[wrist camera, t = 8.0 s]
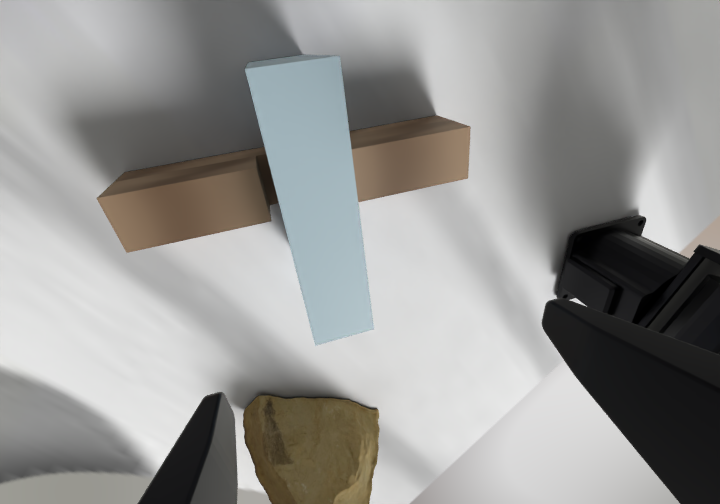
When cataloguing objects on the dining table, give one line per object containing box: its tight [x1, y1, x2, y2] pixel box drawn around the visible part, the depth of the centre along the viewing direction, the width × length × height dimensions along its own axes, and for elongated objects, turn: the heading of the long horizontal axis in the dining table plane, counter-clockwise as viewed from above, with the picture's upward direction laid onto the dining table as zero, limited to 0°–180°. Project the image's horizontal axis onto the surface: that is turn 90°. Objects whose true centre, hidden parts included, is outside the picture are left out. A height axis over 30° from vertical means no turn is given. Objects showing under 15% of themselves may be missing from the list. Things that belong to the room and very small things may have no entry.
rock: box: [243, 395, 379, 504], centre depth 26 cm, size 11×9×10 cm
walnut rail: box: [97, 115, 470, 253], centre depth 17 cm, size 16×2×4 cm, turn 97°
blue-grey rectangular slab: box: [245, 55, 374, 346], centre depth 15 cm, size 10×2×8 cm, turn 7°
